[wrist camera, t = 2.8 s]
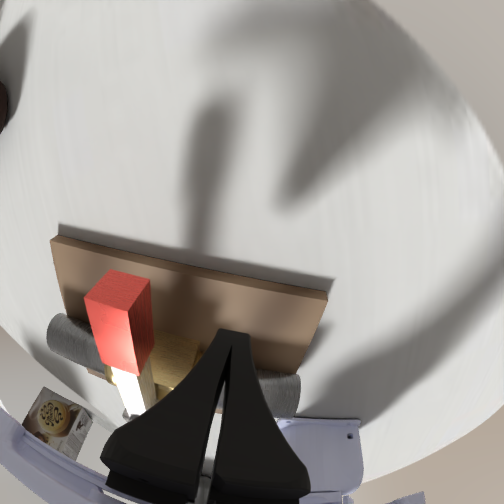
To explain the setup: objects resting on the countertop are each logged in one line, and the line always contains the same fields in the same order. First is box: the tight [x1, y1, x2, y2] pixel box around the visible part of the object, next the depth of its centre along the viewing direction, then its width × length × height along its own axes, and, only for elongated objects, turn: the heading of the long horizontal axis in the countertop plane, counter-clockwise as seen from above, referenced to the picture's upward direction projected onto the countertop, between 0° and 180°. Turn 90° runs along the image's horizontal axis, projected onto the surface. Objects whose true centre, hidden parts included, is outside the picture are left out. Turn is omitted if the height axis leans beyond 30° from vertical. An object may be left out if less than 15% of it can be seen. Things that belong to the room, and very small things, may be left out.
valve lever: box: [84, 269, 160, 422], centre depth 12 cm, size 12×3×3 cm, turn 170°
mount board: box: [50, 235, 328, 414], centre depth 20 cm, size 20×16×1 cm
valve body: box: [47, 313, 301, 419], centre depth 18 cm, size 20×5×5 cm, turn 80°
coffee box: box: [22, 387, 93, 461], centre depth 25 cm, size 9×6×16 cm
